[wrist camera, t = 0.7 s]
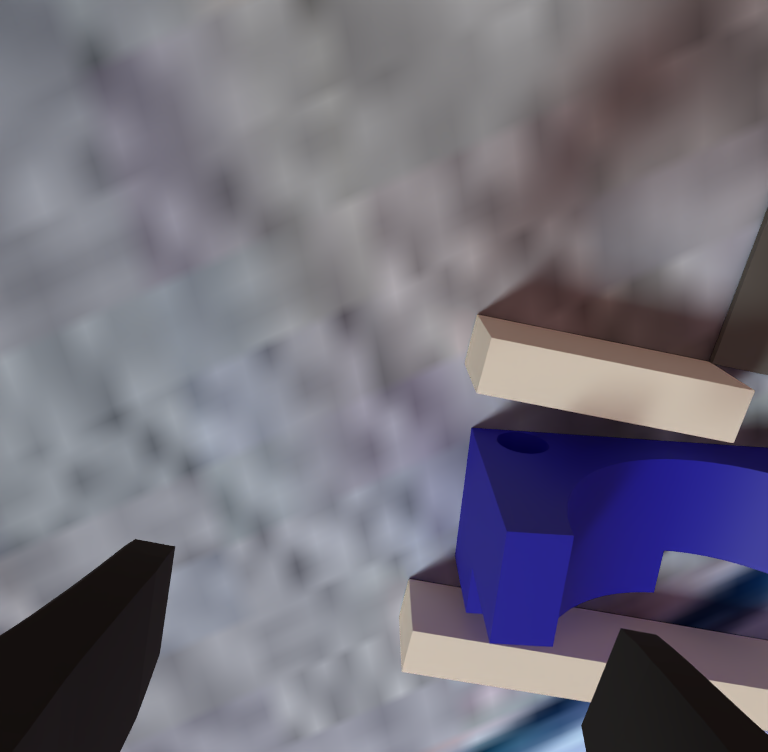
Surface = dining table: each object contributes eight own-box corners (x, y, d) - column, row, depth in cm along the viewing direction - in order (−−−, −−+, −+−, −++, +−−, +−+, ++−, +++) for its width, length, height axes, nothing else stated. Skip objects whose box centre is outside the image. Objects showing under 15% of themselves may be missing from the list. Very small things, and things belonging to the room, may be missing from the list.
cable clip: (454, 552, 22) (481, 694, 16) (470, 425, 20) (506, 531, 15) (814, 574, 22) (963, 720, 17) (854, 451, 21) (1033, 564, 15)
